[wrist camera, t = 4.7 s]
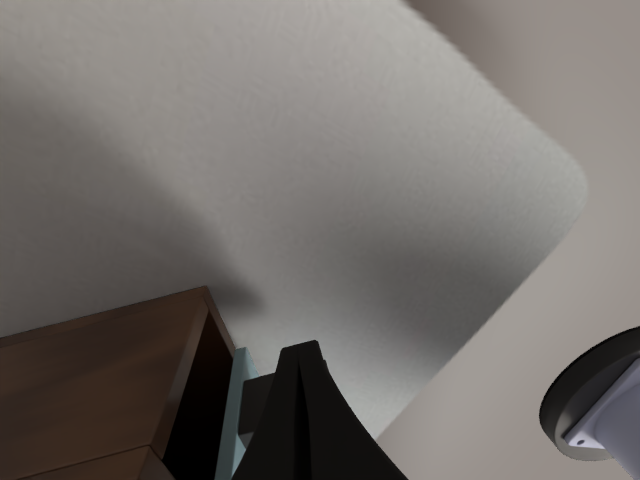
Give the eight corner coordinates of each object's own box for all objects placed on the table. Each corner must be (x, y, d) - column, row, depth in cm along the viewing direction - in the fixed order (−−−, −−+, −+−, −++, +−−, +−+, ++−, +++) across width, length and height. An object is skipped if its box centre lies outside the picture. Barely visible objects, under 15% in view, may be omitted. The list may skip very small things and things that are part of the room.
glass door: (319, 327, 15) (345, 471, 9) (345, 419, 18) (377, 569, 13) (234, 349, 15) (208, 509, 9) (275, 438, 18) (275, 597, 12)
